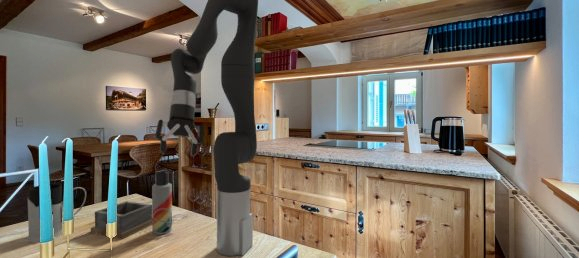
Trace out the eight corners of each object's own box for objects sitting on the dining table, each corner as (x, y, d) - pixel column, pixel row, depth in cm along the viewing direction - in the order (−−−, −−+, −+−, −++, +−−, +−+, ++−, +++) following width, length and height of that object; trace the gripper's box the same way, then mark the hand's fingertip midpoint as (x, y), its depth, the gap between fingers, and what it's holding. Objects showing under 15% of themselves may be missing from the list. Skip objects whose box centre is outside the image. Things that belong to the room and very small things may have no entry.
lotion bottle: (164, 235, 83) (164, 172, 82) (148, 234, 84) (147, 171, 83) (175, 228, 88) (175, 168, 87) (160, 226, 89) (160, 167, 88)
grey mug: (28, 234, 82) (26, 186, 81) (86, 223, 91) (85, 179, 90) (24, 245, 75) (23, 193, 75) (87, 231, 84) (86, 185, 84)
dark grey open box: (155, 222, 92) (155, 204, 92) (122, 239, 80) (121, 217, 80) (127, 217, 96) (126, 200, 96) (90, 232, 84) (90, 212, 84)
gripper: (161, 99, 82) (154, 151, 78) (207, 107, 89) (204, 155, 85) (158, 106, 88) (151, 154, 84) (201, 112, 95) (198, 158, 91)
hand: (178, 154), depth 84 cm, fingers open, 8 cm apart
